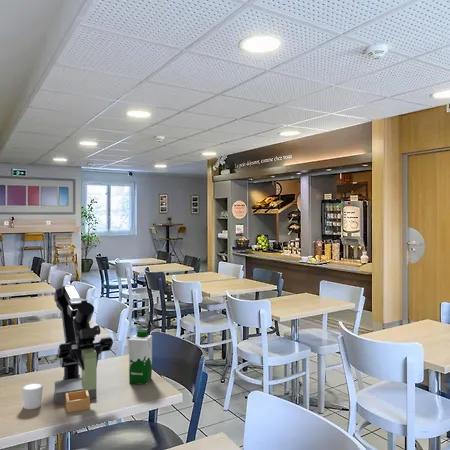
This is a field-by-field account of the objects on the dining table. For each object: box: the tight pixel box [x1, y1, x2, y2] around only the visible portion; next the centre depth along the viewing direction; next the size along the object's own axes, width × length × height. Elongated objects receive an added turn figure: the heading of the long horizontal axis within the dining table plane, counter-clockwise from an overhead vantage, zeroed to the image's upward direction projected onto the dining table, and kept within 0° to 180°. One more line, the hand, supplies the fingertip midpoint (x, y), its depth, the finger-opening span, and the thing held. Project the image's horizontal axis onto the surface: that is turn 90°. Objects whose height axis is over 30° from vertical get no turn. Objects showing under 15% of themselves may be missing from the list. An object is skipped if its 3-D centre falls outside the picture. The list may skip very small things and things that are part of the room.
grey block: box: [54, 377, 97, 413], centre depth 157 cm, size 21×14×4 cm
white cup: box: [21, 382, 44, 410], centre depth 151 cm, size 7×7×7 cm
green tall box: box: [81, 348, 98, 391], centre depth 152 cm, size 5×4×13 cm
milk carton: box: [128, 329, 153, 385], centre depth 175 cm, size 9×9×20 cm
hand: (89, 368), depth 150 cm, fingers closed on green tall box, 4 cm apart
